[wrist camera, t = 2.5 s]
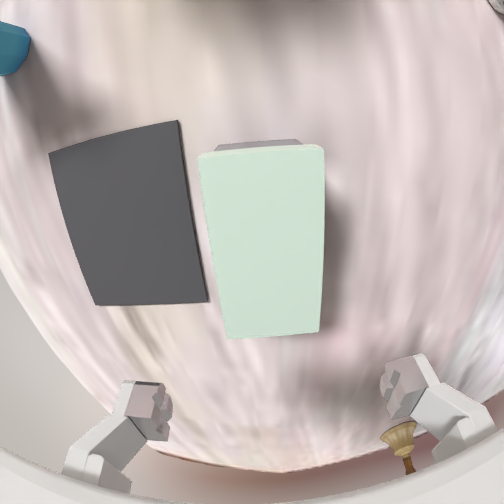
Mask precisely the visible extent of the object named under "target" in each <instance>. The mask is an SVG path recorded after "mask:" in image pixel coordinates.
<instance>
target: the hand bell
mask: <svg viewBox="0 0 504 504" xmlns="http://www.w3.org/2000/svg"><path fill="white" fill-rule="evenodd" d="M415 428H416V422H413V421H412V422H405V423H402V424H399V425H397V426H395V427H393V428H391V429H389V430H388V431H386V432H385V433H384V434H383V435H382V436H381V440H382V441H384V442H386V443H388V444H389V445H390V446H391V448H392V450H393V452H394V454H395V455H397V456H399V455H400V456H402V458H403V461H404V465H405V468H406V475H409V474H411V473H414V472H416V470H415V469H414V468H413V465H412V461H411V457H410V451H411V450H412V449H413V448H414V442H413V433H414V430H415Z"/></svg>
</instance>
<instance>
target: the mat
mask: <svg viewBox="0 0 504 504" xmlns="http://www.w3.org/2000/svg"><path fill="white" fill-rule="evenodd" d="M48 154H49V159H50V164H51V169H52V174H53V178H54V182H55V187H56V191H57V195H58V199H59V202H60V206H61V210H62V213H63V217H64V220H65V224H66V227H67V230H68V233H69V236H70V240H71V243H72V246H73V249H74V251H75V254H76V257H77V260H78V263H79V265H80V268H81V271H82V273H83V276H84V279H85V281H86V284H87V286H88V288H89V291H90V293H91V296H92V298H93V300H94V303H95V305H144V304H173V303H195V302H207V301H208V298H207V293H206V288H205V283H204V279H203V274H202V269H201V263H200V258H199V253H198V248H197V242H196V237H195V231H194V226H193V220H192V214H191V208H190V202H189V196H188V190H187V183H186V177H185V170H184V163H183V156H182V149H181V142H180V134H179V126H178V120H175V121H169V122H164V123H159V124H153V125H149V126H144V127H139V128H135V129H130V130H126V131H122V132H118V133H114V134H110V135H106V136H102V137H99V138H95V139H92V140H88V141H85V142H82V143H78V144H75V145H72V146H69V147H66V148H63V149H60V150H57V151H54V152H51V153H48Z"/></svg>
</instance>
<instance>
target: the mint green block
mask: <svg viewBox="0 0 504 504" xmlns="http://www.w3.org/2000/svg"><path fill="white" fill-rule="evenodd" d="M197 161H198V168H199V175H200V182H201V189H202V196H203V203H204V210H205V216H206V223H207V229H208V235H209V242H210V248H211V254H212V260H213V265H214V271H215V277H216V283H217V288H218V294H219V299H220V304H221V310H222V315H223V320H224V326H225V331H226V336H227V339H244V338H259V337H272V336H284V335H294V334H304V333H313V332H319V324H320V311H321V296H322V279H323V256H324V217H325V176H324V149H323V148H321V147H320V146H318V145H316V144H308V145H284V146H268V147H255V148H243V149H232V150H223V151H214V152H206V153H202V154H201V155H200V156H199V157H198V158H197Z"/></svg>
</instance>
